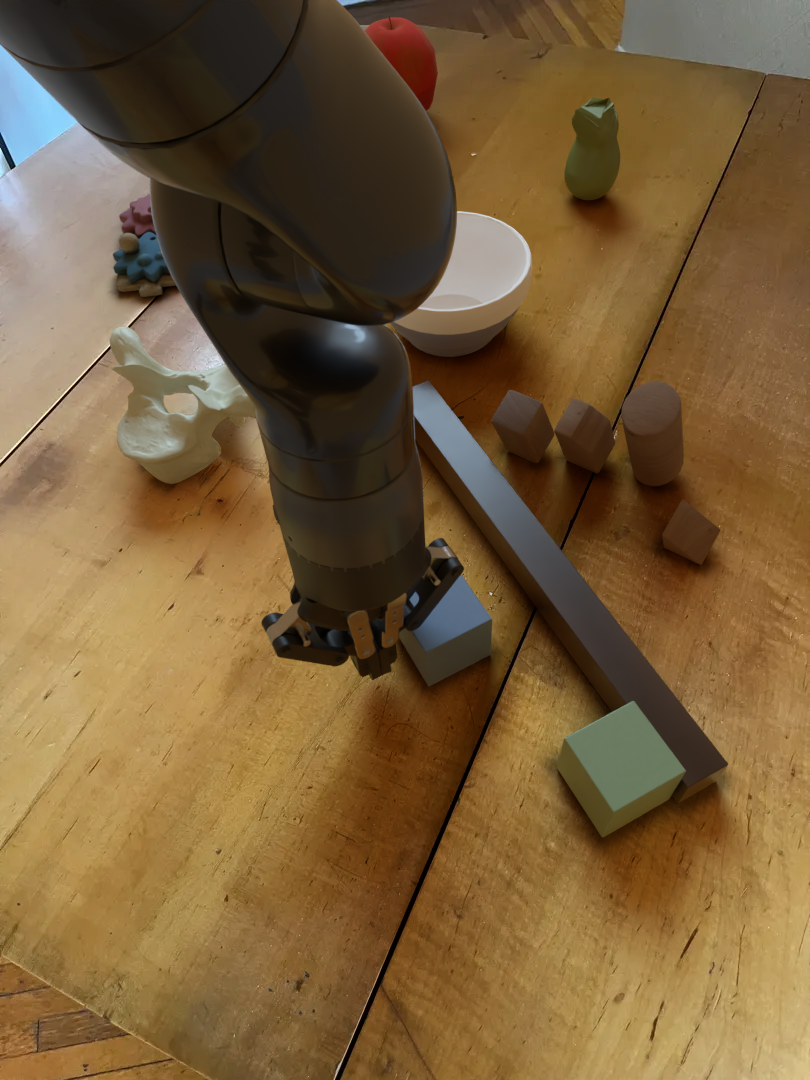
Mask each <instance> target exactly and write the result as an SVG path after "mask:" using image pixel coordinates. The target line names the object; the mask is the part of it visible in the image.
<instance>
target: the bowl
mask: <svg viewBox="0 0 810 1080" xmlns="http://www.w3.org/2000/svg"><path fill="white" fill-rule="evenodd" d="M532 257H533V256H532V252H531V249H530V246H529V244H528V242H527V241H526V239H525V238H524V236H523V235H522V234H520V232H518V231H517V230H516V229H515V228H514V227H513V226H510V225H509V224H508V223H506V222H504V221H503V220H500V219H498V218H494V217H492V216H489V215H485V214H482V213H477V212H470V211H461V210H459V211H458V210H457V227H456V236H455V242H454V247H453V251H452V255H451V258H450V261H449V264H448V267H447V269H446V271H445V273H444V275H443V277H442V279H441V281H440V283H439V284H438V286H437V287H436V289H435V290H434V292H433V293H432V294H431V295H430V296H429V297H428V298H427V299H426V301H425V302H424V303H423V304H422V305H421V306H419V307H418V308H417V309H416V310H414V311H413V312H412V313H410V314H408V315H406V316H405V317H403V318H401V319H399V320H397V321H394V322H391V323H389V324H390V325H391V326H392V327H393V329H394V330H395V331H396V332H397V333H398V334H399V335H400V336H402V337H403V338H405V339H406V340H407V341H408V342H410V344H411V345H412V346H414V347H415V348H416V349H418V350H419V351H422V352H423V353H426V354H428V355H431V356H437V357H443V358H455V357H462V356H466V355H470V354H472V353H474V352H477V351H480V350H481V349H482V348H484V347H486V346H487V345H488V344H489V343H491V341H492V340H493V339H494V337H496V336H497V335H498V334H499V333H501V332H502V331H503V330H504V329H505V327H507V325H508V324H509V322H510V320H511V319H512V318H513V317H515V315H516V314H517V312H518V311H519V309H520V308H521V306H522V304H523V303H524V301H525V300H526V299H527V297H528V294H529V290H530V287H531V283H532V278H533V277H532V276H533V260H532V259H533V258H532Z"/></svg>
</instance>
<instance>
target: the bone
mask: <svg viewBox="0 0 810 1080" xmlns="http://www.w3.org/2000/svg"><path fill="white" fill-rule="evenodd" d="M109 345H110V350H111V353H112V355H113V357H114V358H115V360H116V362H117V364H119V365H115V366H113V367H111V368H110V369H111V370H112V371H113V372H115V373H116V374H118V375H120V376H121V377H123V378H124V379H125V380H127V382H129V383H130V384H131V385H132V387H133V390H132V392H130V393H129V394H128V395H127V410H126V411H125V413H124V415H123V416H122V417H121V418H120V420H119V422H118V424H117V428H116V429H117V430H116V442H117V446H118V448H119V451H120V452H121V454H122V455H123V456H124V457H126V458H128V459H131V460H133V461H135V462H137V463H138V464H139V465H141V466H142V467H143V468H144V469H145V470H146V471H147V472H148V473H149V474H151V475H152V476H153V477H154V478H156V479H157V480H158V481H160V482H163V483H165V484H168V485H174V484H179V483H180V482H183V481H185V480H187V479H188V478H190V477H192V476H195V475H197V474H198V473H199V472H201V471H202V470H204V469H205V468H207V467H209V466H210V465H211V464H213V462H215V461H216V460H217V459H218V458H219V457H220V455H221V454H222V447H221V445H220V444H219V442H218V441H217V440H216V439H215V438H214V437H213V436H212V435H213V433H214V431H215V429H216V427H217V426H218V425H219V424H220V422H222V421H223V420H225V419H228V418H229V420H230V421H231V422H232V423H233V424H234V425H235V426H236V427H238V428H240V429H242V428H244V425H245V423H246V418H253V419H256V415H255V411H254V407H253V403H252V401H251V400H250V398H249V397H248V395H247V394H246V392H245V391H244V390H243V388H242V387H241V386H240V385H239V383H238V382H237V381H236V379H235V378H234V376H233V375H232V374H231V372H230V371H229V369H228V368H227V366H226V364H225V363H223V364H220V365H217V366H215V367H212V368H209V369H205V370H201V371H200V370H199V371H196V370H185V371H183V370H178V371H177V370H175V369H171V368H168V367H166V366H164V365H162V364H161V363H160V362H157V360H155V359H154V358H153V357H152V356H150V354H149V353H148V352H147V350H146V349H145V346H144V344H143V341H142V340H141V338H140V337H139V335H138V334H137V333H136V331H134V330H133V329H132V328H130V327H129V326H119V327H117V328H115V329H113V330H112V332H111V334H110V337H109ZM175 394H189V395H193V396H194V398H195V399H196V400H197V409H196V411H195V412H194V413H193V414H184V413H181V412H179V411H178V412H177V411H175V412H171V413H170V412H169V411H168V409H167V407H166V405H165V399H164V398H165V396H172V395H175Z"/></svg>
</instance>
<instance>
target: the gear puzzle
mask: <svg viewBox="0 0 810 1080" xmlns="http://www.w3.org/2000/svg"><path fill="white" fill-rule="evenodd" d="M118 218H119V220H120V222H121V223H123V224H122V225H121V231H122V234H121V235H120V237H119V240H118V243H119V247H120V249H118V250H116V251H114V252H113V253H112V258H113V260H114V261H115V264H114V266H113V267H112V268H113V271H114V273H115V274H116V280H115V285H116V287H117V290H118V291H119V292H124V293H126V292H134V291H138V293H139V295H140V297H141V298H147V297H155V296H160V295H163V289H162V288H166V287H174V286H176V284H175V282H174V280H173V278H172V276H171V274H170V272H169V269H168V267H167V265H166V262H165V260H164V258H163V255H162V252H161V250H160V247H159V243H158V239H157V235H156V231H155V227H154V223H153V218H152V213H151V202H150V193H148V194H146V195H145V196H143V197H142V196H141V197H138V198H137V199H136V200H133V201H131V202H129V207H128V208H127V209H126V210H124V211H123V212H122V213H120V214H119V216H118Z"/></svg>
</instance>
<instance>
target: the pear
mask: <svg viewBox="0 0 810 1080" xmlns="http://www.w3.org/2000/svg"><path fill="white" fill-rule="evenodd" d="M571 126H572V129H573V131H574V133H575V135H576V136H575V140H574V141H573V144H572V145H571V147H570V150H569V152H568V156H567V158H566V161H565V167H564V174H563V176H564V183H565V185H566V188H567V190H568V191H569V192H570V193H571V194H572V195H573V196H574V197H575V198H577V199H580V200H581V201H582V200H583V201H594V200H598V199H601V198H602V197H604V196H605V195H607V194H608V193H609V192H610V191H611V189H612V188H613V187H614V184H615V182H616V181H617V178H618V174H619V172H620V171H619V170H620V165H621V149H620V144H619V141H618V134H619V126H620V125H619V115H618V113H617V110H615V102H613V101H611V98H610V97H607V98H604V99H603V98H600V97H594V96H593V97H592V98H590V99H589V100H588V101H587V102H586V103H584V104H583V105H582V106H580V107H578V108H577V109H575V111H574V114H573V116H572V118H571Z"/></svg>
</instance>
